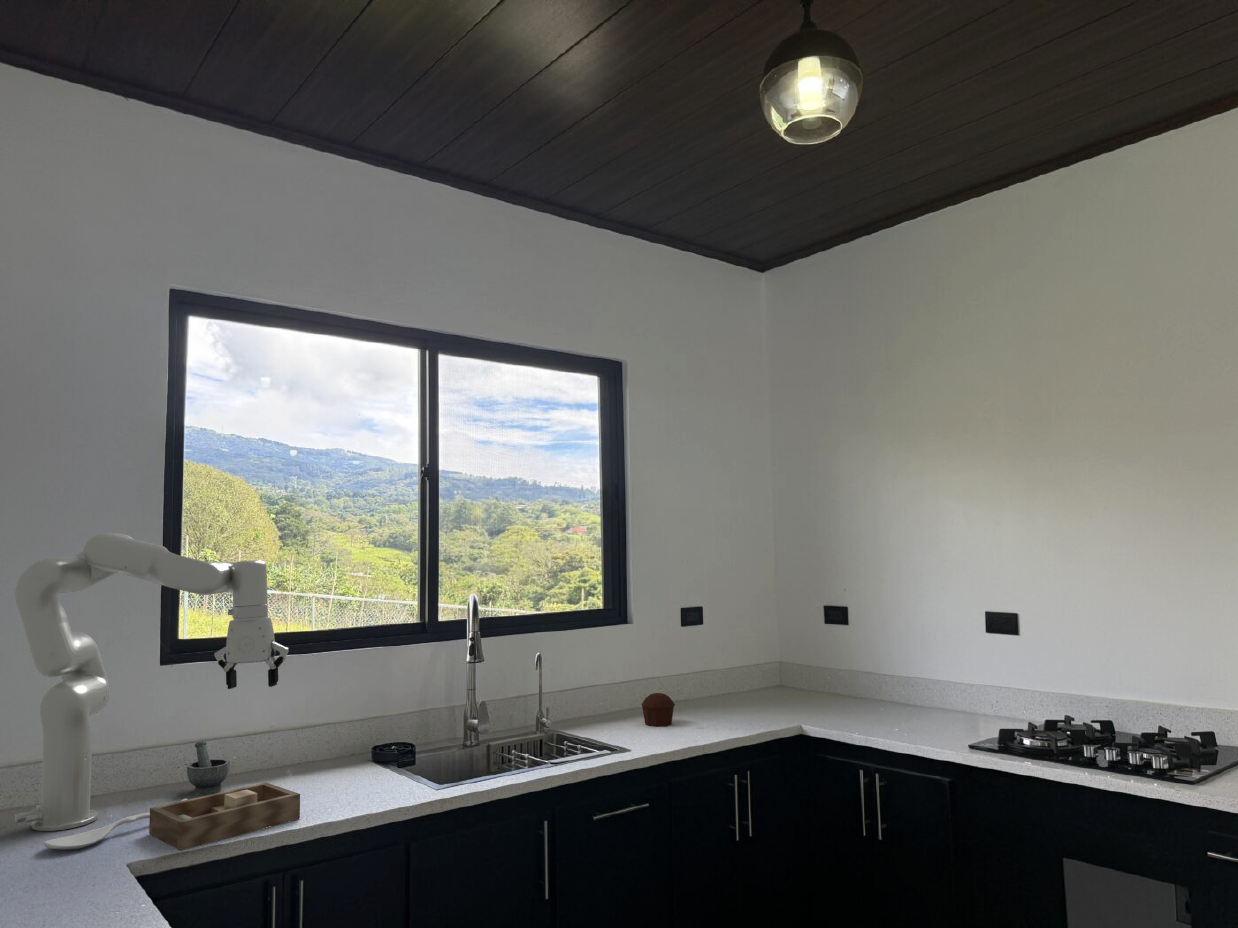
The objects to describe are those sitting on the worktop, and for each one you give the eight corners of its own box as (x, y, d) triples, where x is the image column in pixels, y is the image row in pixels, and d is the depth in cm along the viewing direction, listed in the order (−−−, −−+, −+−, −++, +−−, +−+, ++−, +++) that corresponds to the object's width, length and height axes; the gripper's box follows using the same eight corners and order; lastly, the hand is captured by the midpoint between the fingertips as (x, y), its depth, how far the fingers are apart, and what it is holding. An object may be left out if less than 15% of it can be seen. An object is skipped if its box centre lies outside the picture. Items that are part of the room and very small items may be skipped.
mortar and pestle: (235, 790, 223) (236, 742, 224) (197, 799, 216) (198, 748, 217) (215, 783, 230) (216, 736, 231) (178, 791, 223) (179, 742, 224)
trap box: (180, 850, 179) (180, 822, 179) (149, 834, 189) (149, 807, 190) (299, 818, 198) (300, 793, 199) (265, 805, 209) (266, 782, 209)
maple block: (234, 817, 190) (235, 798, 191) (224, 812, 194) (224, 794, 194) (257, 811, 194) (257, 793, 195) (246, 807, 198) (246, 789, 198)
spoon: (208, 817, 202) (208, 801, 202) (56, 860, 175) (56, 842, 176) (186, 811, 207) (186, 796, 207) (35, 852, 180) (36, 834, 181)
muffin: (639, 721, 300) (639, 691, 301) (671, 719, 301) (671, 690, 302) (644, 728, 288) (643, 697, 289) (678, 727, 290) (677, 696, 291)
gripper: (206, 616, 204) (208, 691, 202) (280, 612, 203) (282, 687, 202) (222, 613, 211) (223, 686, 210) (293, 609, 211) (295, 682, 209)
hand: (252, 686), depth 206 cm, fingers open, 9 cm apart
